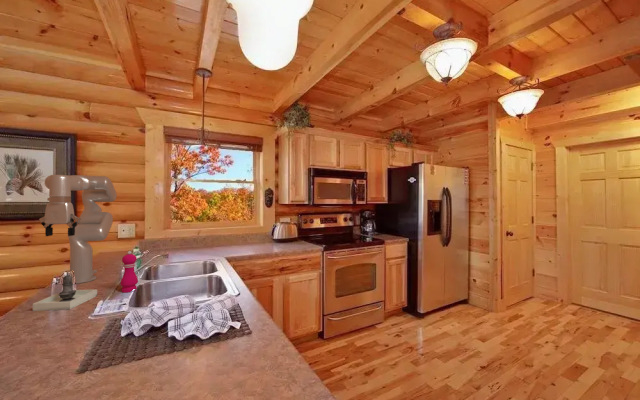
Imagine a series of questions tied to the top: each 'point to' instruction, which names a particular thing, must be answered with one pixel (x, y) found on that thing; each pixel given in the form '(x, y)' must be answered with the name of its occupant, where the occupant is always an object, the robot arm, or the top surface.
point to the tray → (54, 303)
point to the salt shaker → (67, 289)
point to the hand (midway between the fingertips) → (60, 235)
